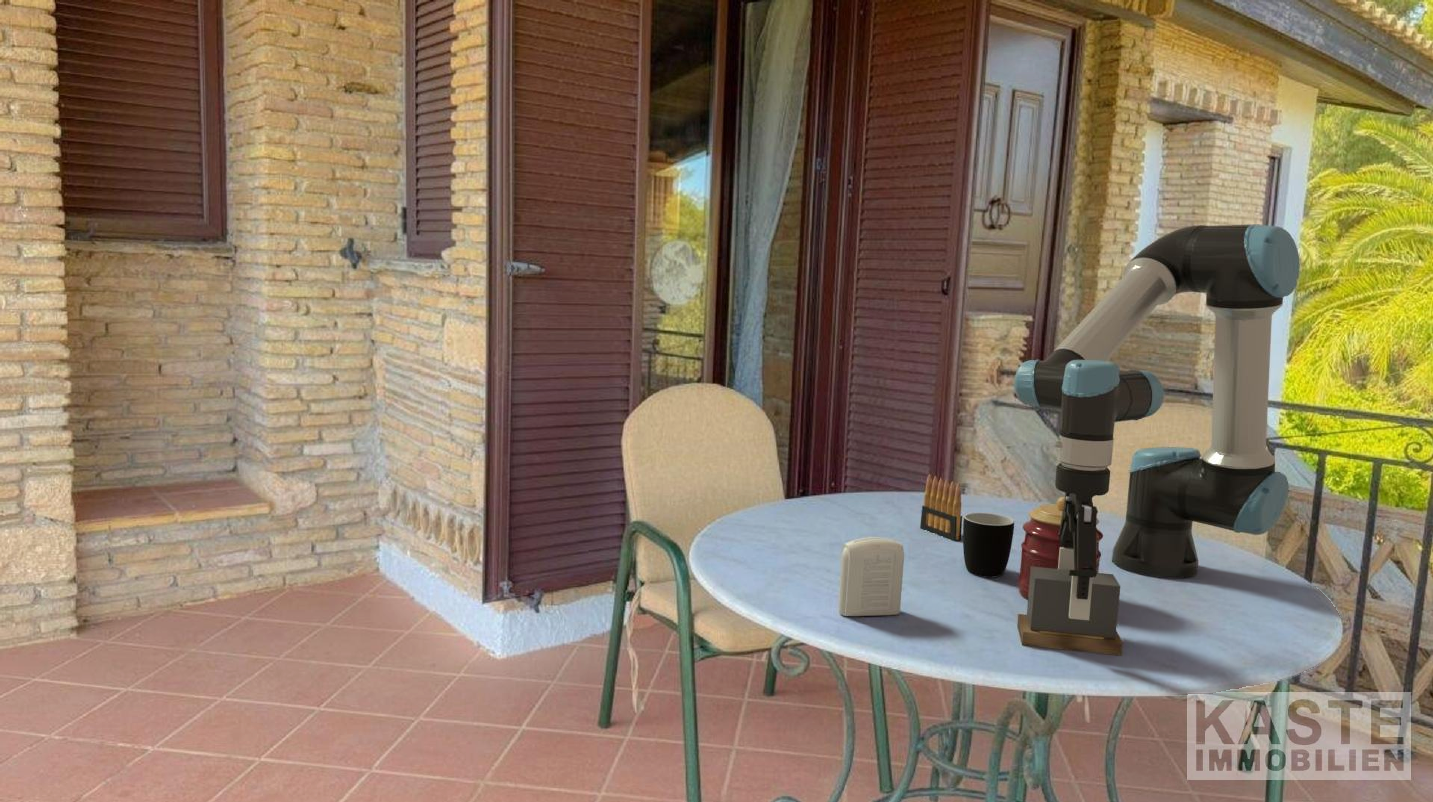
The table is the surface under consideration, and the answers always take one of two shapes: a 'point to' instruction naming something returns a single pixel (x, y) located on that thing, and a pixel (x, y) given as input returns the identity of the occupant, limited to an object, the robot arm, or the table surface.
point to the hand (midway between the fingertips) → (1072, 603)
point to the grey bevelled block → (1054, 601)
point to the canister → (1044, 542)
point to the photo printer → (871, 577)
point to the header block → (1067, 640)
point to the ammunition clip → (942, 509)
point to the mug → (987, 543)
